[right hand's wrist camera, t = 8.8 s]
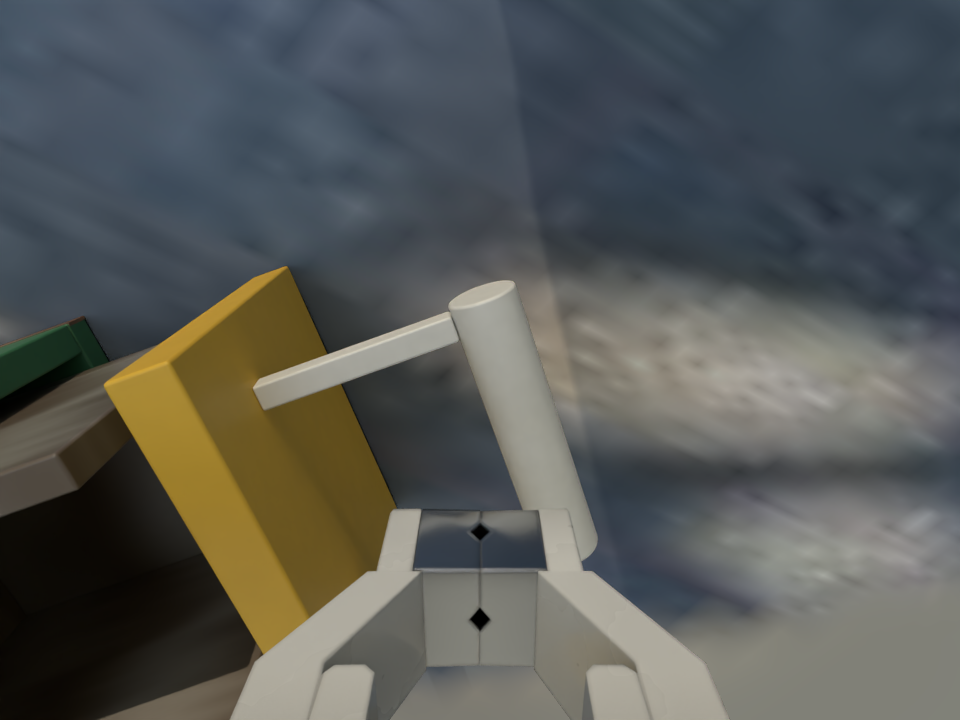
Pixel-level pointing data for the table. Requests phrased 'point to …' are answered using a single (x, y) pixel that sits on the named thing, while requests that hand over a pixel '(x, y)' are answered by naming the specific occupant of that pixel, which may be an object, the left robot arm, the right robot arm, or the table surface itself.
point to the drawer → (223, 498)
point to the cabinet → (48, 357)
